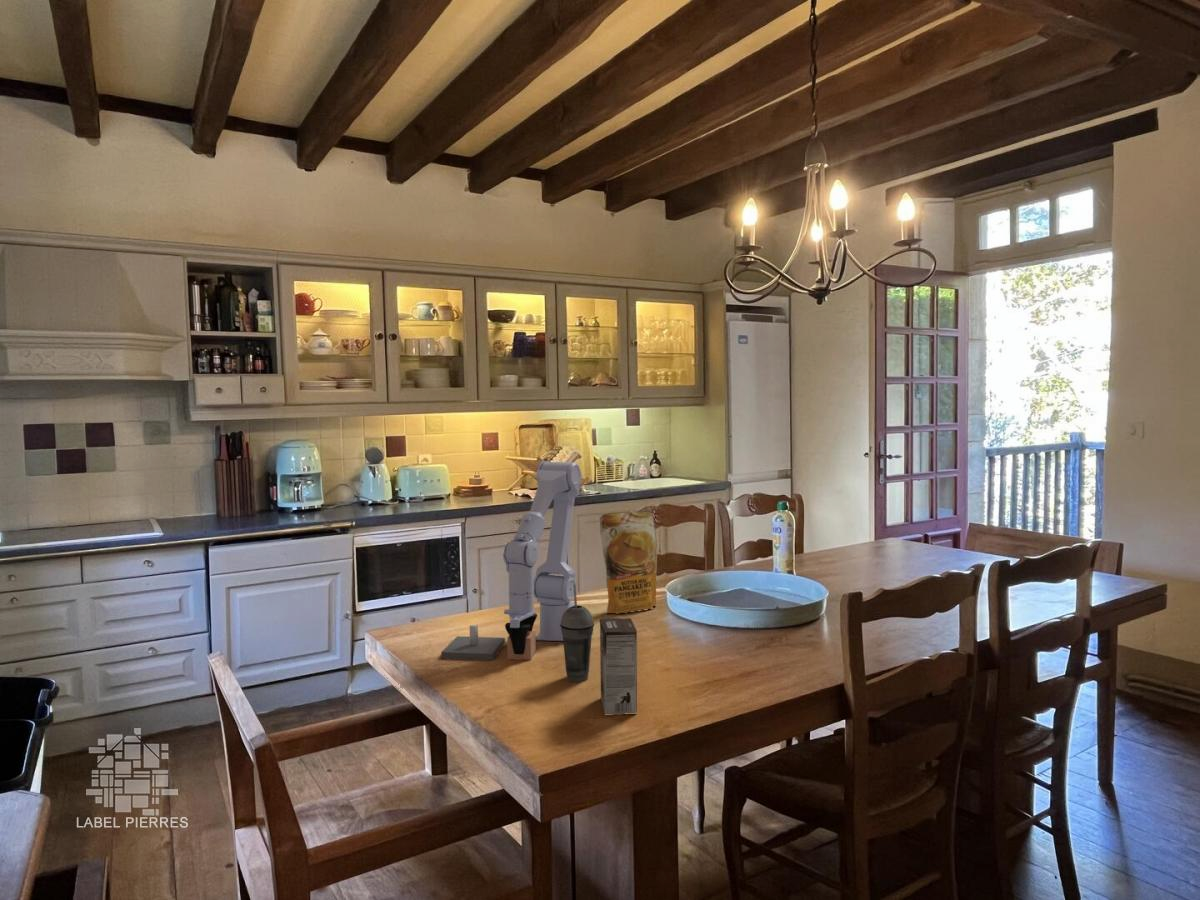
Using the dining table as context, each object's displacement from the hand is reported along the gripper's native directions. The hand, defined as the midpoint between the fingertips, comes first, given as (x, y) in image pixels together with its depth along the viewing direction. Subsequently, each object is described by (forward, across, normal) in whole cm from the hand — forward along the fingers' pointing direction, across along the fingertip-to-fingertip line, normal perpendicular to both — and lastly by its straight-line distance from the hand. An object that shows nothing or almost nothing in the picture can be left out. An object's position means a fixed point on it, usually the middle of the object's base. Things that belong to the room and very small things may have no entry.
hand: (521, 649), depth 176 cm
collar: (+1, 0, 0) cm, 1 cm away
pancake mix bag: (+2, -42, +22) cm, 47 cm away
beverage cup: (+2, +13, +15) cm, 20 cm away
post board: (+1, -2, -12) cm, 12 cm away
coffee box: (+2, +27, +25) cm, 37 cm away
